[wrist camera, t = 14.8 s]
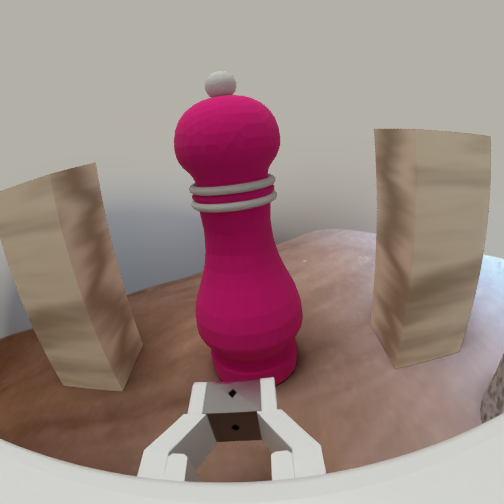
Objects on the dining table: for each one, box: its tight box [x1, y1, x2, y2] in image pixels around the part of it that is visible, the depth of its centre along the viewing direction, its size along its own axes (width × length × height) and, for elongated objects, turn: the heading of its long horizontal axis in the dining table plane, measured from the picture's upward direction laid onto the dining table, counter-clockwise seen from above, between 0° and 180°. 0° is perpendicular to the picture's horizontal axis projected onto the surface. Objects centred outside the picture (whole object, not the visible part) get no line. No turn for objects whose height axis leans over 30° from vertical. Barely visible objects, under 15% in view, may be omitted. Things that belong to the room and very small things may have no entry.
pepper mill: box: [174, 71, 303, 385], centre depth 19 cm, size 7×7×20 cm
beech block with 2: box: [371, 129, 491, 369], centre depth 19 cm, size 6×6×16 cm
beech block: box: [0, 163, 143, 391], centre depth 20 cm, size 6×6×16 cm
